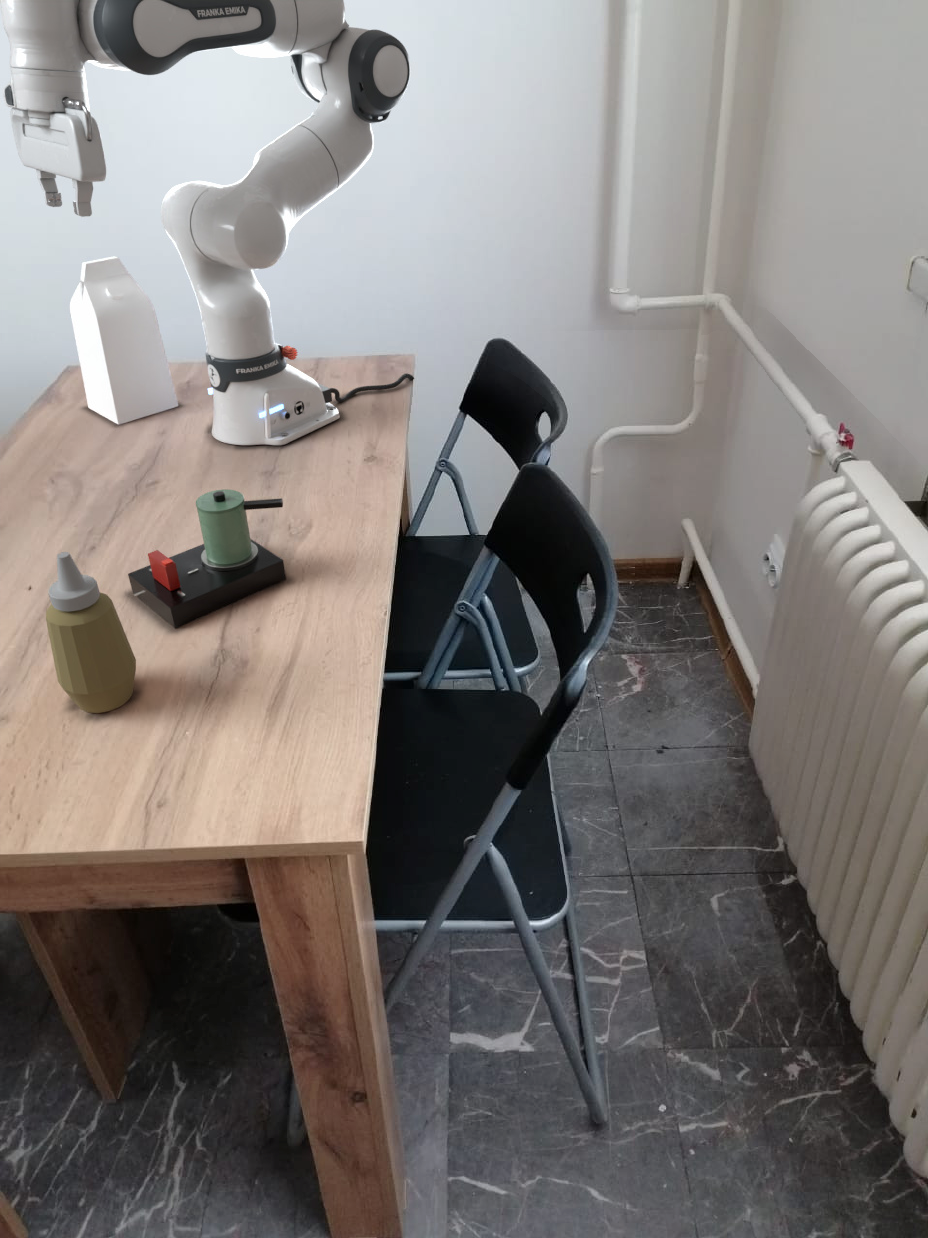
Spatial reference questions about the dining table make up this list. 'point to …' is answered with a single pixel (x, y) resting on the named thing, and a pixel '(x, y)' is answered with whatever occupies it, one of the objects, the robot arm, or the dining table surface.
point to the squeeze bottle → (88, 641)
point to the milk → (119, 344)
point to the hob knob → (164, 570)
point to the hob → (204, 585)
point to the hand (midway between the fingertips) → (68, 210)
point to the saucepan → (228, 524)
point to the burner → (230, 566)
